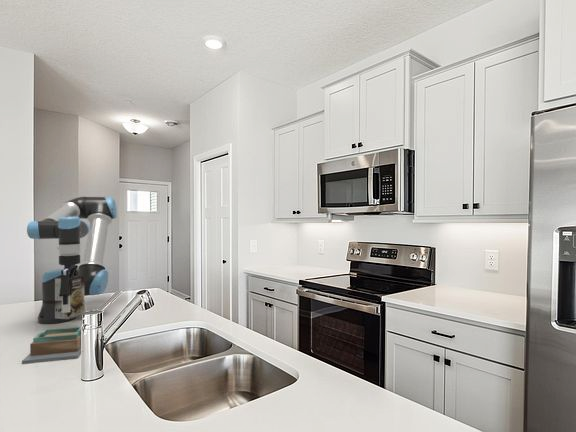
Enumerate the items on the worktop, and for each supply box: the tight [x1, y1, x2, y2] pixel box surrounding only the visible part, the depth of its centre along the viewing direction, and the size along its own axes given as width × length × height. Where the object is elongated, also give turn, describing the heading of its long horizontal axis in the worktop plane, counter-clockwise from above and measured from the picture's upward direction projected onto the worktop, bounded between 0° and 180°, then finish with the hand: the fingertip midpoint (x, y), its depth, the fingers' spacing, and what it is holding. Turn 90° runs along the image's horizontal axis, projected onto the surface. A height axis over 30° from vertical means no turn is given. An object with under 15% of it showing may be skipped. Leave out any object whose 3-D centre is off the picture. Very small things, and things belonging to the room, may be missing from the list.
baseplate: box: [21, 347, 82, 365], centre depth 130 cm, size 20×16×1 cm
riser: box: [29, 326, 82, 356], centre depth 130 cm, size 12×14×6 cm
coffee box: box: [55, 275, 86, 319], centre depth 149 cm, size 9×6×16 cm
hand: (70, 308), depth 149 cm, fingers closed on coffee box, 10 cm apart
